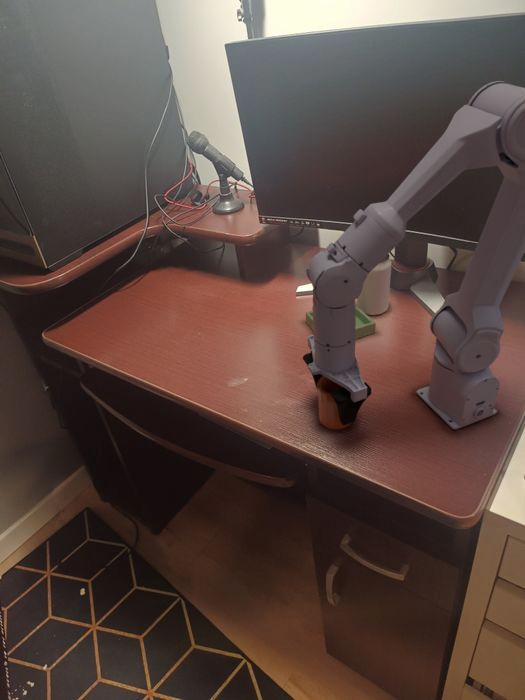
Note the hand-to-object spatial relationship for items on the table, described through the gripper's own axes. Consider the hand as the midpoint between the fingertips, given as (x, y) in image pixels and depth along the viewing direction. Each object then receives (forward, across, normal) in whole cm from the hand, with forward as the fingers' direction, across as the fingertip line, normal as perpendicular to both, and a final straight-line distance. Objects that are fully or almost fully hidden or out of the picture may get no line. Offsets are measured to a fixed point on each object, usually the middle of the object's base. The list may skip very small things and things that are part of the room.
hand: (335, 406), depth 72 cm
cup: (+2, 0, 0) cm, 2 cm away
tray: (+2, -22, +12) cm, 25 cm away
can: (+3, -25, +22) cm, 33 cm away
